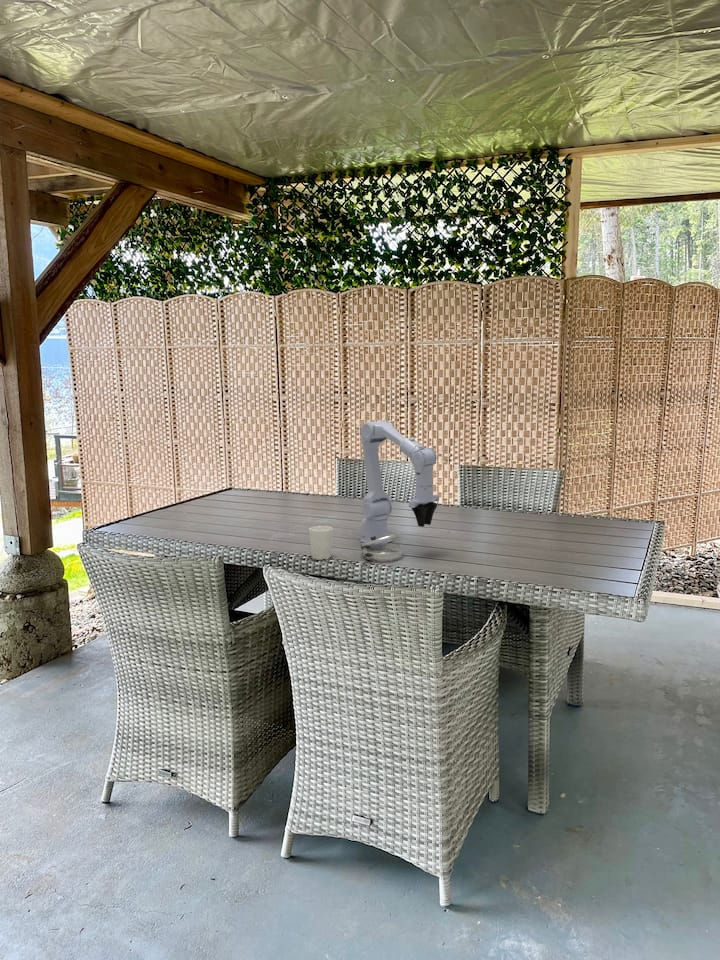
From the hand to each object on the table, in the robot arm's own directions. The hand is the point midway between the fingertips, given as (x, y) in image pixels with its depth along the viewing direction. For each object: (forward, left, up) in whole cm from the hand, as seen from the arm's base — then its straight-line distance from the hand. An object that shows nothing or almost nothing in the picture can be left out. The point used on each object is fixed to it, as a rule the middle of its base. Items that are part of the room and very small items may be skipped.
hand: (424, 525), depth 231 cm
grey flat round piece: (-10, -10, -10) cm, 18 cm away
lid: (-10, -10, -5) cm, 15 cm away
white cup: (-26, -23, -11) cm, 36 cm away
